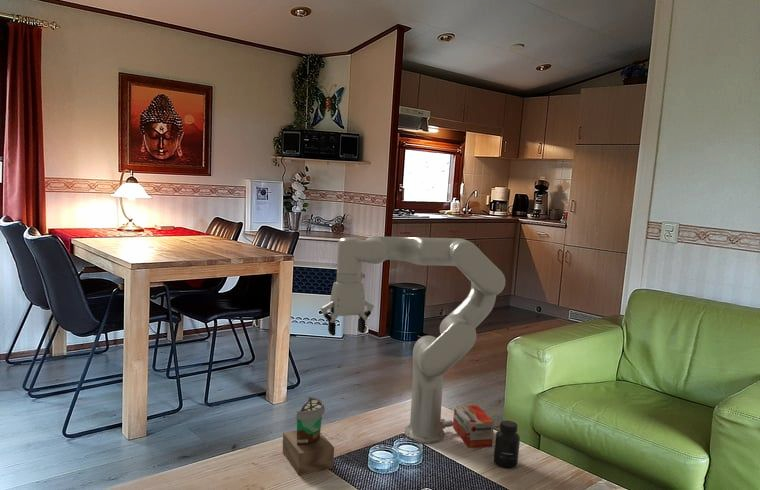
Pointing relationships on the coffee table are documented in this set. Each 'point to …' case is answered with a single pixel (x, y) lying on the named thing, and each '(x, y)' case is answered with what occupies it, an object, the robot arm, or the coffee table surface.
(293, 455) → the block
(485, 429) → the medicine box
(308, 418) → the food container
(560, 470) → the coffee table surface
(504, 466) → the supplement bottle
